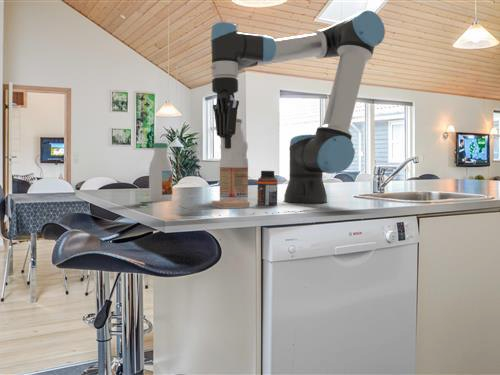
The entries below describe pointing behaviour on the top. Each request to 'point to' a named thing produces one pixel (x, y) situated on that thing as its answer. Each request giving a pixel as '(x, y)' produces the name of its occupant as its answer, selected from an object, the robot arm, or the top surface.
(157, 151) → the milk bottle
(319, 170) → the robot arm
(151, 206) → the top surface
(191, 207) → the mat
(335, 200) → the top surface
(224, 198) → the fruit juice
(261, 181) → the supplement bottle
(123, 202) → the top surface
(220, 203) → the tile
